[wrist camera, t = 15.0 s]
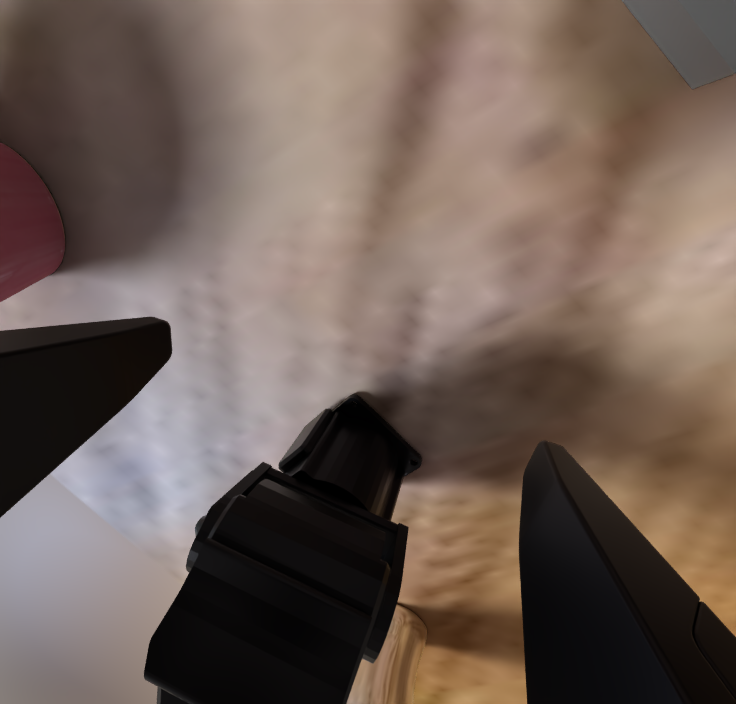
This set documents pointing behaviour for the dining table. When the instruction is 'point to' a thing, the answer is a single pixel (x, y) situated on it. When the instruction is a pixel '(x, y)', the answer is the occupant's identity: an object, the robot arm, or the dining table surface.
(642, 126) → the dining table surface
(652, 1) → the holder box
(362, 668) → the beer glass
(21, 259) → the plant pot
